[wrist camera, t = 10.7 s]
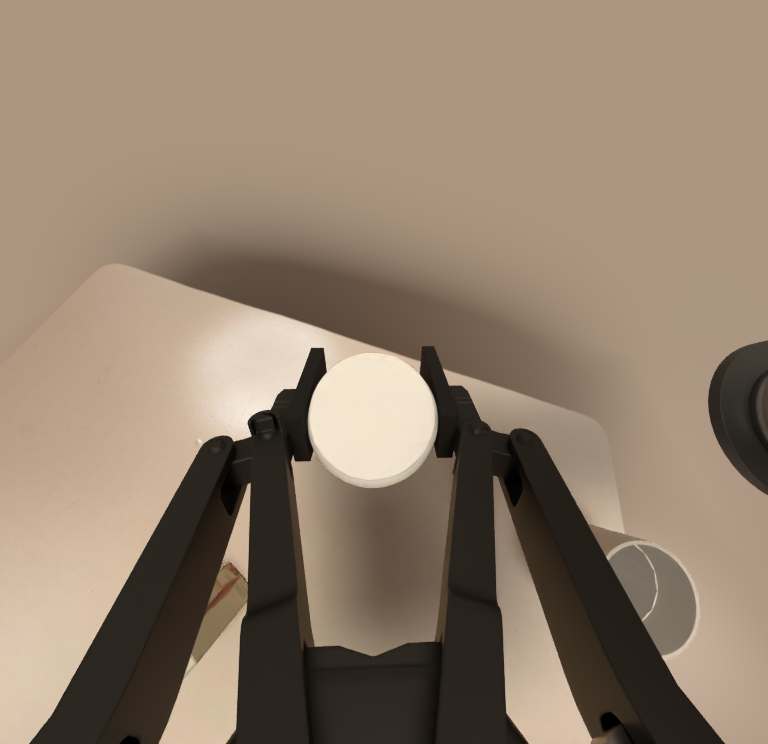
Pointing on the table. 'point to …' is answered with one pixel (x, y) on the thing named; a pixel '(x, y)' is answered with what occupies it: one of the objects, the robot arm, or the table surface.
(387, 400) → the pill bottle
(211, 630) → the small juice carton
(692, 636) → the cup
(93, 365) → the table surface
